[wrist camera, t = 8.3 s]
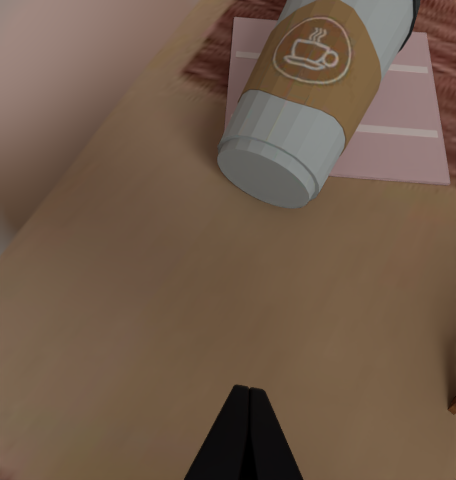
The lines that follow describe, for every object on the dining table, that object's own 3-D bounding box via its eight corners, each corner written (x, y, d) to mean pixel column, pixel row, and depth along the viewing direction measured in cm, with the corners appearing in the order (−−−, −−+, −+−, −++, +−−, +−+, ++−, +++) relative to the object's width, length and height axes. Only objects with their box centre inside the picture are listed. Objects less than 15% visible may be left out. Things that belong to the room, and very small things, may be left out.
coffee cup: (181, 111, 16) (306, -95, 19) (211, 186, 24) (296, 32, 27) (348, 172, 14) (458, -69, 17) (320, 232, 22) (399, 60, 25)
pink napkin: (424, 36, 28) (426, 32, 27) (447, 185, 23) (450, 182, 23) (233, 20, 28) (234, 16, 27) (221, 167, 23) (221, 164, 23)
